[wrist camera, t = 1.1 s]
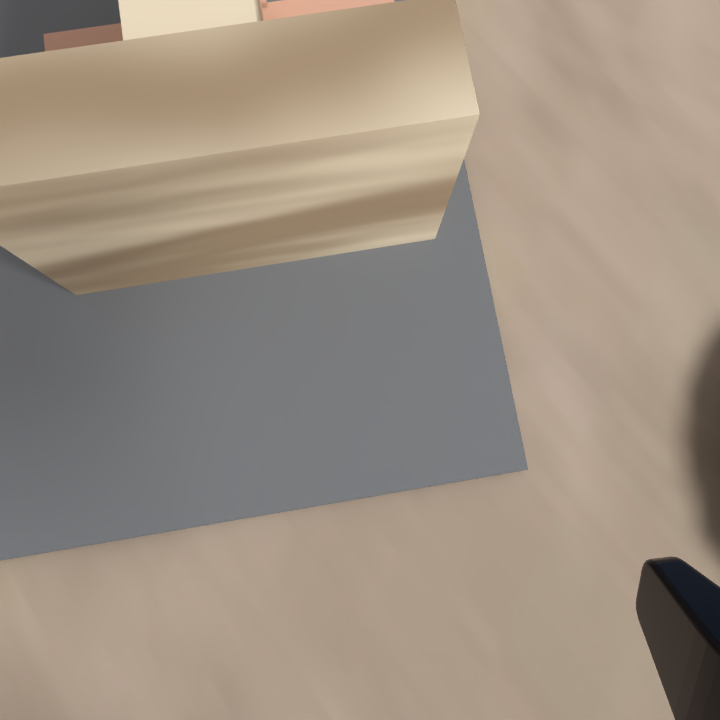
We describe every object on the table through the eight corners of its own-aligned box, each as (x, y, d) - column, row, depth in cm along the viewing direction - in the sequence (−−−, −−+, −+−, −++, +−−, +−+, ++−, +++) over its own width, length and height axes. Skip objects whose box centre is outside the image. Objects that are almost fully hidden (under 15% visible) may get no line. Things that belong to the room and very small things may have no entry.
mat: (524, 469, 22) (528, 469, 22) (-7, 561, 21) (-14, 562, 21) (388, -194, 26) (388, -205, 26) (-60, -136, 25) (-67, -146, 25)
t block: (435, 238, 23) (479, 114, 15) (76, 295, 22) (-74, 197, 14) (379, -49, 25) (392, -295, 17) (45, -2, 24) (-103, -234, 16)
